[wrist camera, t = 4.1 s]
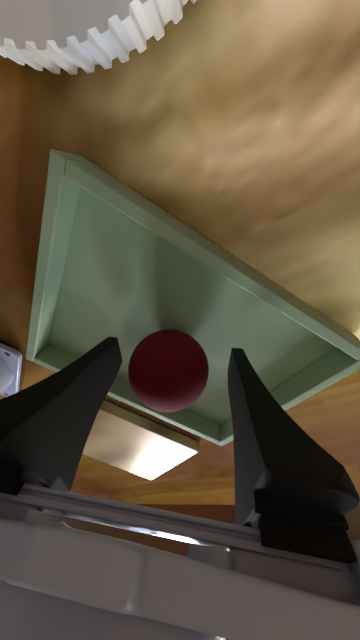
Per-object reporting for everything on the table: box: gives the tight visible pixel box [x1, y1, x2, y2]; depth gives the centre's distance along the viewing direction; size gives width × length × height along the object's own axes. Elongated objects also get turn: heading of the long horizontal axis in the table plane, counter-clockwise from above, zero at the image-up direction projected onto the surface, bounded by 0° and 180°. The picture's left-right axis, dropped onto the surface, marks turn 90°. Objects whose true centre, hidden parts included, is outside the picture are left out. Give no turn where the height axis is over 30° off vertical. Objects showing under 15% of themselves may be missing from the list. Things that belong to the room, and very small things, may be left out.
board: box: [82, 400, 199, 480], centre depth 23 cm, size 12×12×1 cm
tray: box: [26, 149, 360, 446], centre depth 13 cm, size 17×13×2 cm
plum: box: [128, 329, 209, 412], centre depth 12 cm, size 5×5×5 cm
